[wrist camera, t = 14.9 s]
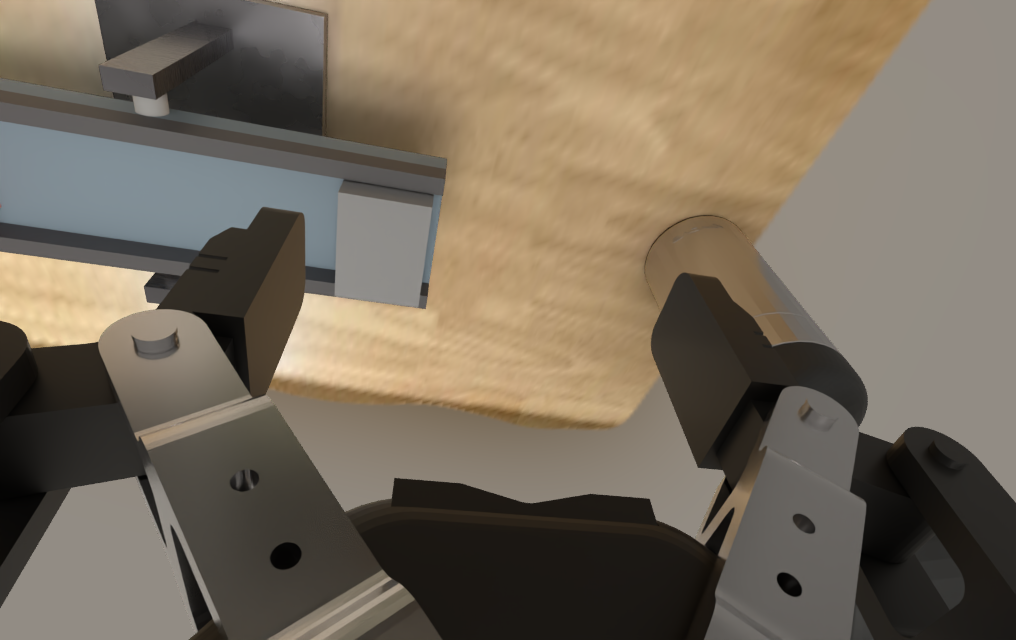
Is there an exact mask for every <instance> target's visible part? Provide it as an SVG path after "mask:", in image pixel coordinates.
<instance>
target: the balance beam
mask: <svg viewBox="0 0 1016 640" xmlns="http://www.w3.org/2000/svg"><path fill="white" fill-rule="evenodd" d="M446 165H447V159H446V158H440V157H435V156H429V155H423V154H418V153H412V152H407V151H401V150H396V149H390V148H385V147H379V146H374V145H368V144H363V143H357V142H352V141H346V140H340V139H335V138H329V137H324V136H318V135H313V134H307V133H302V132H296V131H291V130H285V129H280V128H274V127H268V126H263V125H257V124H252V123H246V122H241V121H235V120H230V119H224V118H219V117H213V116H208V115H202V114H197V113H191V112H185V111H180V110H174V109H169V104H168V97H167V93H166V94H164V95H163V96H161V97H160V98H158V99H157V100H154V99H148V98H143V97H137V96H133V102H130V101H125V100H119V99H114V98H108V97H102V96H97V95H91V94H86V93H80V92H75V91H69V90H64V89H58V88H53V87H47V86H42V85H36V84H31V83H25V82H19V81H14V80H8V79H3V78H0V204H1V208H0V251H1V252H8V253H16V254H23V255H30V256H38V257H45V258H53V259H60V260H67V261H75V262H82V263H90V264H97V265H104V266H112V267H119V268H127V269H134V270H141V271H149V272H156V273H164V274H171V275H178V276H182V274H183V273H184V272H185V271H186V269H189V265H190V264H191V263H192V261H193V260H194V259H195V257H196V256H197V257H198V255H199V252H200V251H201V249H202V248H203V247H204V246H205V244H206V243H207V242H208V240H209V239H210V238H212V237H213V236H215V235H217V234H219V233H221V232H223V231H225V230H227V229H228V228H230V227H235V228H242V229H247V228H248V227H249V225H250V224H251V222H252V221H253V219H254V218H255V216H256V215H257V213H258V212H259V210H260V209H261V208H262V207H269V208H276V209H282V210H289V211H295V212H302V213H303V214H304V218H305V291H304V293H311V294H319V295H326V296H334V297H341V298H348V299H356V300H363V301H371V302H378V303H385V304H393V305H400V306H408V307H415V308H422V309H426V303H427V297H428V287H429V280H430V273H431V266H432V260H433V253H434V246H435V240H436V233H437V226H438V220H439V213H440V206H441V200H442V196H443V191H444V184H445V176H446Z"/></svg>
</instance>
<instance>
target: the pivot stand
mask: <svg viewBox="0 0 1016 640" xmlns="http://www.w3.org/2000/svg"><path fill="white" fill-rule="evenodd" d="M95 3H96V9H97V14H98V19H99V24H100V29H101V34H102V39H103V44H104V49H105V54H106V60H107V61H106V62H104V63H102V64H99V70H100V75H101V80H102V85H103V89H104V91H110V92H113V95H114V99H119V100H125V101H130V102H133V96H137V97H143V98H148V99H154V100H157V99H158V98H160V97H161V96H163V95H164V94H166V93H167V97H168V104H169V109H174V110H180V111H185V112H191V113H197V114H202V115H208V116H213V117H219V118H224V119H230V120H235V121H241V122H246V123H252V124H257V125H263V126H268V127H274V128H280V129H285V130H291V131H296V132H302V133H307V134H313V135H318V136H324V137H325V130H326V76H327V21H328V14H325V13H320V12H316V11H311V10H306V9H302V8H297V7H293V6H288V5H283V4H279V3H274V2H269V1H265V0H95ZM180 277H181V276H178V275H171V274H164V273H155V274H154V275H153V276H152V277H151V279H150V280H149V281H148V282H147V283H146V285H145V286H144V289H145V294H146V299H147V302H149V303H157V304H160V303H161V302H162V301H163V300H164V298H165V297H166V296H167V294H168V293H169V292H170V290H171V289H172V288H173V286H174V285H175V284H176V282H177V281H178V280H179V278H180Z"/></svg>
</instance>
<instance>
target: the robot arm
mask: <svg viewBox="0 0 1016 640" xmlns="http://www.w3.org/2000/svg"><path fill="white" fill-rule="evenodd" d="M645 275H646V280H647V283H648V285H649V287H650V289H651V291H652V293H653V296H654V298H655V300H656V302H657V304H658V307H659V309H660V311H661V313H660V315H659V317H658V320H657V322H656V324H655V326H654V329H653V333H652V338H651V350H652V354H653V357H654V360H655V362H656V365H657V367H658V370H659V372H660V374H661V377H662V379H663V382H664V384H665V387H666V389H667V392H668V394H669V397H670V399H671V402H672V404H673V406H674V409H675V412H676V414H677V417H678V419H679V421H680V424H681V426H682V429H683V431H684V434H685V436H686V439H687V441H688V444H689V446H690V448H691V451H692V454H693V456H694V459H695V461H696V464H697V466H698V468H707V469H718V470H723V471H724V473H725V477H724V478H723V480H722V481H721V483H720V484H719V486H718V487H717V489H716V492H715V494H714V496H713V498H712V501H711V503H710V505H709V508H708V510H707V512H706V514H705V516H704V519H703V521H702V523H701V525H700V528H699V530H698V532H697V535H696V537H695V539H694V538H692V537H691V536H689V535H687V534H686V533H684V532H682V531H680V530H678V529H676V528H674V527H671V526H669V525H667V524H665V523H662V522H659V521H656V519H655V515H654V512H653V509H652V505H651V502H650V499H644V498H633V497H621V496H609V495H596V494H588V495H582V496H575V497H569V498H563V499H558V500H551V501H545V502H539V503H524V502H519V501H516V500H513V499H510V498H507V497H503V496H500V495H497V494H494V493H490V492H487V491H484V490H481V489H477V488H474V487H471V486H467V485H464V484H460V483H449V482H436V481H424V480H411V479H400V478H395V479H394V486H393V494H392V499H386V500H380V501H376V502H372V503H369V504H365V505H361V506H359V507H356V508H354V509H351V510H349V511H346V512H345V511H344V510H343V508H342V507H341V505H340V504H339V502H338V501H337V499H336V498H335V496H334V495H333V493H332V491H331V490H330V489H329V487H328V485H327V484H326V482H325V481H324V479H323V478H322V476H321V475H320V473H319V472H318V470H317V469H316V467H315V466H314V464H313V463H312V461H311V460H310V458H309V456H308V455H307V453H306V452H305V450H304V449H303V447H302V446H301V444H300V443H299V441H298V440H297V438H296V436H295V435H294V433H293V432H292V430H291V429H290V427H289V426H288V424H287V423H286V421H285V420H284V418H283V417H282V415H281V413H280V412H279V411H278V409H277V407H276V406H275V405H274V403H273V402H272V400H271V399H270V398H269V397H268V396H267V395H266V392H267V390H268V387H269V385H270V383H271V380H272V378H273V375H274V373H275V370H276V368H277V365H278V363H279V360H280V358H281V356H282V353H283V351H284V348H285V346H286V343H287V341H288V338H289V336H290V334H291V331H292V329H293V326H294V324H295V321H296V319H297V316H298V314H299V311H300V309H301V306H302V302H303V297H304V291H305V218H304V214H303V213H302V212H295V211H289V210H282V209H276V208H269V207H262V208H261V209H260V210H259V212H258V213H257V215H256V216H255V218H254V219H253V221H252V222H251V224H250V225H249V227H248V228H247V229H242V228H235V227H230V228H228V229H227V230H225V231H223V232H221V233H219V234H217V235H215V236H213V237H212V238H210V239H209V240H208V242H207V243H206V244H205V246H204V247H203V248H202V249H201V251H200V252H199V255H198V257H197V256H196V257H195V259H194V260H193V261H192V263H191V264H190V265H189V269H186V271H185V272H184V273H183V274H182V276H181V277H180V278H179V280H178V281H177V282H176V284H175V285H174V286H173V288H172V289H171V290H170V292H169V293H168V294H167V296H166V297H165V298H164V300H163V301H162V302H161V303H160V305H159V306H158V307H157V309H156V310H149V311H143V312H139V313H135V314H132V315H129V316H126V317H124V318H122V319H120V320H118V321H116V322H115V323H113V324H112V325H110V326H109V327H108V328H107V329H106V330H105V331H104V332H103V334H102V335H101V337H100V339H99V342H96V343H88V344H79V345H67V346H55V347H43V348H31V347H30V345H29V342H28V339H27V337H26V334H25V333H24V332H23V331H22V330H21V329H20V328H18V327H17V326H15V325H13V324H10V323H7V322H3V321H0V608H1V606H2V604H3V602H4V601H5V599H6V597H7V596H8V594H9V592H10V591H11V589H12V587H13V586H14V584H15V582H16V580H17V579H18V577H19V575H20V574H21V572H22V570H23V569H24V567H25V565H26V564H27V562H28V560H29V558H30V557H31V555H32V553H33V552H34V550H35V548H36V547H37V545H38V543H39V541H40V540H41V538H42V536H43V535H44V533H45V531H46V529H47V528H48V526H49V525H50V523H51V521H52V519H53V518H54V516H55V514H56V513H57V511H58V509H59V507H60V506H61V504H62V502H63V501H64V499H65V497H66V496H67V494H68V492H69V490H70V489H71V488H72V487H77V486H84V485H89V484H95V483H101V482H107V481H113V480H118V479H125V478H130V477H135V478H136V480H137V483H138V485H139V488H140V490H141V493H142V495H143V497H144V500H145V503H146V505H147V508H148V510H149V513H150V515H151V518H152V520H153V523H154V525H155V528H156V530H157V533H158V535H159V538H160V540H161V543H162V545H163V548H164V550H165V553H166V555H167V558H168V560H169V563H170V566H171V568H172V571H173V574H174V577H175V580H176V583H177V586H178V589H179V592H180V595H181V598H182V600H183V603H184V606H185V609H186V612H187V614H188V617H189V620H190V622H191V625H192V627H193V630H194V632H195V635H194V636H192V637H191V638H190V639H189V640H1016V503H1015V501H1014V500H1013V499H1012V498H1011V497H1010V496H1009V494H1008V493H1007V492H1006V491H1005V490H1004V489H1003V487H1002V486H1001V485H1000V484H999V483H998V482H997V480H996V479H995V478H994V477H993V476H992V474H991V473H990V472H989V471H988V470H987V469H986V468H985V466H984V465H983V464H982V463H981V462H980V461H979V460H978V459H977V457H976V456H974V455H973V454H972V453H971V452H970V451H969V450H968V449H966V448H965V447H964V446H962V445H961V444H959V443H958V442H956V441H955V440H953V439H951V438H950V437H948V436H946V435H944V434H942V433H939V432H937V431H934V430H931V429H928V428H923V427H911V428H908V429H907V430H906V431H905V432H904V433H903V434H902V435H901V436H900V437H899V438H898V439H897V441H896V442H895V443H894V444H893V443H889V442H887V441H884V440H881V439H878V438H875V437H872V436H869V435H867V434H863V433H861V432H859V429H858V427H859V426H860V424H861V423H862V421H863V418H864V416H865V413H866V410H867V405H868V403H867V402H868V401H867V400H868V397H867V392H866V389H865V386H864V384H863V382H862V380H861V378H860V377H859V376H858V374H857V373H856V372H855V370H854V369H853V368H852V367H851V365H850V364H849V363H848V362H847V360H846V359H845V358H844V357H843V356H842V354H841V353H840V352H839V351H838V349H837V348H836V347H835V346H834V345H833V343H832V342H831V341H830V340H829V338H828V337H827V336H826V335H825V333H824V332H823V331H822V330H821V329H820V328H819V326H818V325H817V324H816V323H815V321H814V320H813V319H812V318H811V317H810V315H809V314H808V313H807V312H806V310H805V309H804V308H803V307H802V306H801V305H800V303H799V302H798V301H797V299H796V298H795V297H794V296H793V294H792V293H791V292H790V291H789V290H788V288H787V287H786V286H785V285H784V283H783V282H782V281H781V280H780V278H779V277H778V276H777V275H776V274H775V272H774V271H773V270H772V269H771V267H770V266H769V265H768V264H767V263H766V261H765V260H764V259H763V258H762V256H761V255H760V254H759V253H758V251H757V250H756V249H755V248H754V246H753V245H752V244H751V243H750V241H749V240H748V239H747V238H746V237H745V235H744V234H743V233H742V232H741V230H740V229H739V228H738V227H737V226H736V225H734V224H733V223H732V222H730V221H728V220H726V219H724V218H720V217H715V216H699V217H694V218H690V219H687V220H685V221H682V222H680V223H677V224H676V225H674V226H673V227H671V228H669V229H668V230H667V231H666V232H664V233H663V234H662V235H661V236H660V237H659V238H658V239H657V241H656V242H655V243H654V244H653V246H652V248H651V250H650V251H649V253H648V256H647V259H646V263H645Z"/></svg>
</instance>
